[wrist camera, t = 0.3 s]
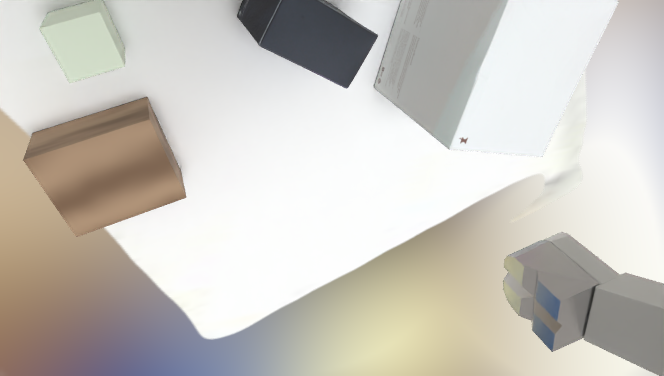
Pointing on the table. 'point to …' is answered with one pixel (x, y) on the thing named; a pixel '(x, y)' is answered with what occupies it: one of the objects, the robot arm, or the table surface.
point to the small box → (310, 35)
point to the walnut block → (106, 166)
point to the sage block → (84, 40)
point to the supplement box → (490, 68)
